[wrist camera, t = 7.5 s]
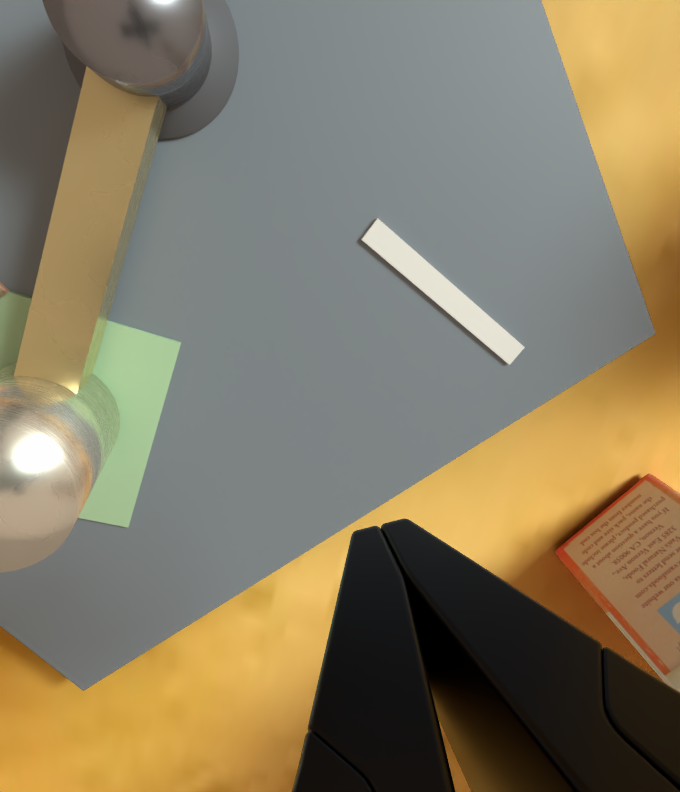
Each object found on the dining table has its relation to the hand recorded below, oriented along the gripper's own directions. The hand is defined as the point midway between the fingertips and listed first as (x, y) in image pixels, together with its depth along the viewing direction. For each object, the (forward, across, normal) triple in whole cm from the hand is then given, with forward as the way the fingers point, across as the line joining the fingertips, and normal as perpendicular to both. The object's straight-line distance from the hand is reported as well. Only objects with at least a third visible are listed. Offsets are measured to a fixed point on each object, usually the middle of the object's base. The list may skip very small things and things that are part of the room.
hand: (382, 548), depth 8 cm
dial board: (+12, +3, -2) cm, 12 cm away
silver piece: (+10, +5, -4) cm, 12 cm away
